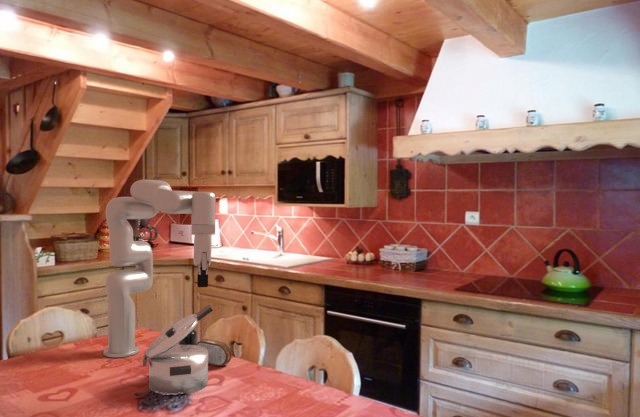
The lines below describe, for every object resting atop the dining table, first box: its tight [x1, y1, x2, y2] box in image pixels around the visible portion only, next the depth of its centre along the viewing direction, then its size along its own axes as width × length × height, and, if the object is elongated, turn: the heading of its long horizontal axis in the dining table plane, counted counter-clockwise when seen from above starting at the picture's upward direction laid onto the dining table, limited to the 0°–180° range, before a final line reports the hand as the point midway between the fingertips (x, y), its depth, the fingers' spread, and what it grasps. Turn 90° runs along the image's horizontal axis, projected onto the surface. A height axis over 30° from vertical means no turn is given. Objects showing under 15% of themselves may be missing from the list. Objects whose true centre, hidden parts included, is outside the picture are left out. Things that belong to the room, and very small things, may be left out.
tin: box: [196, 338, 232, 367], centre depth 168 cm, size 15×3×8 cm, turn 64°
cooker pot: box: [142, 344, 209, 395], centre depth 148 cm, size 24×20×10 cm
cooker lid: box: [144, 304, 214, 360], centre depth 148 cm, size 19×25×3 cm
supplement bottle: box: [177, 328, 198, 345], centre depth 176 cm, size 7×7×12 cm
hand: (202, 286), depth 151 cm, fingers closed
